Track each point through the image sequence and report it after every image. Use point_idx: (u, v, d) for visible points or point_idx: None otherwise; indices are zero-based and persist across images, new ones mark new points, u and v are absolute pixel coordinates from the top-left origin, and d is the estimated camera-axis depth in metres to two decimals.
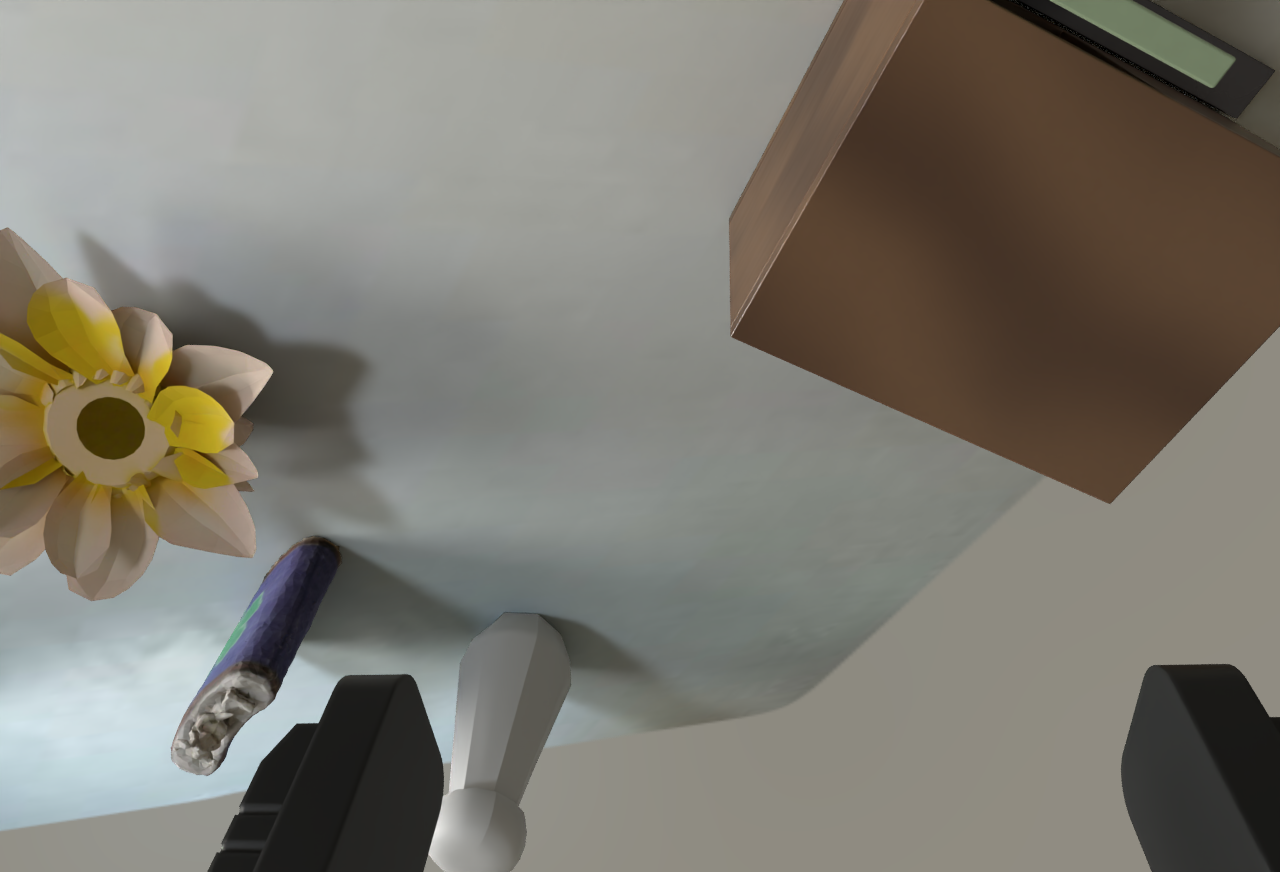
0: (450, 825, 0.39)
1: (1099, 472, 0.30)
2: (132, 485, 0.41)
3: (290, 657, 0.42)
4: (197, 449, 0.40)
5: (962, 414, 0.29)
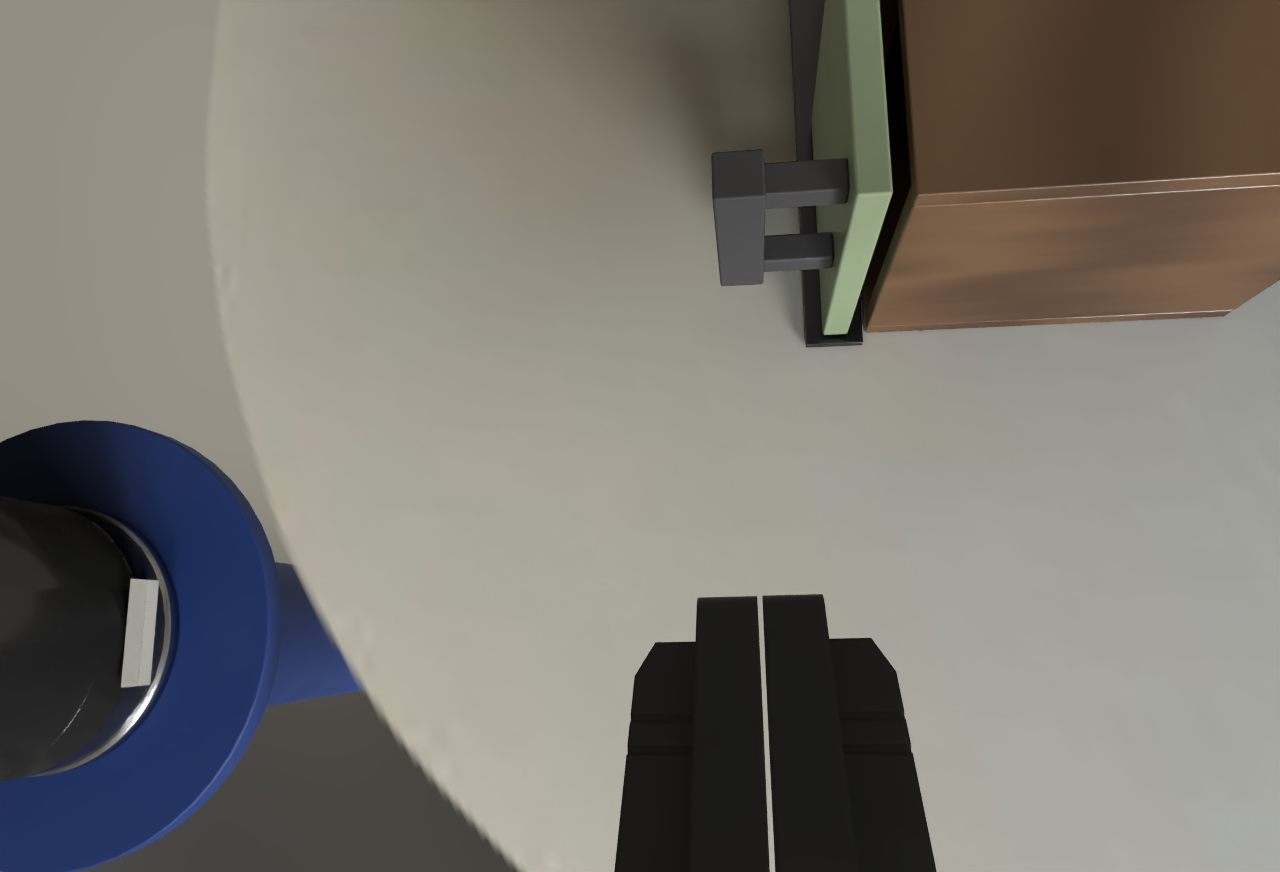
0: None
1: None
2: None
3: None
4: None
5: None
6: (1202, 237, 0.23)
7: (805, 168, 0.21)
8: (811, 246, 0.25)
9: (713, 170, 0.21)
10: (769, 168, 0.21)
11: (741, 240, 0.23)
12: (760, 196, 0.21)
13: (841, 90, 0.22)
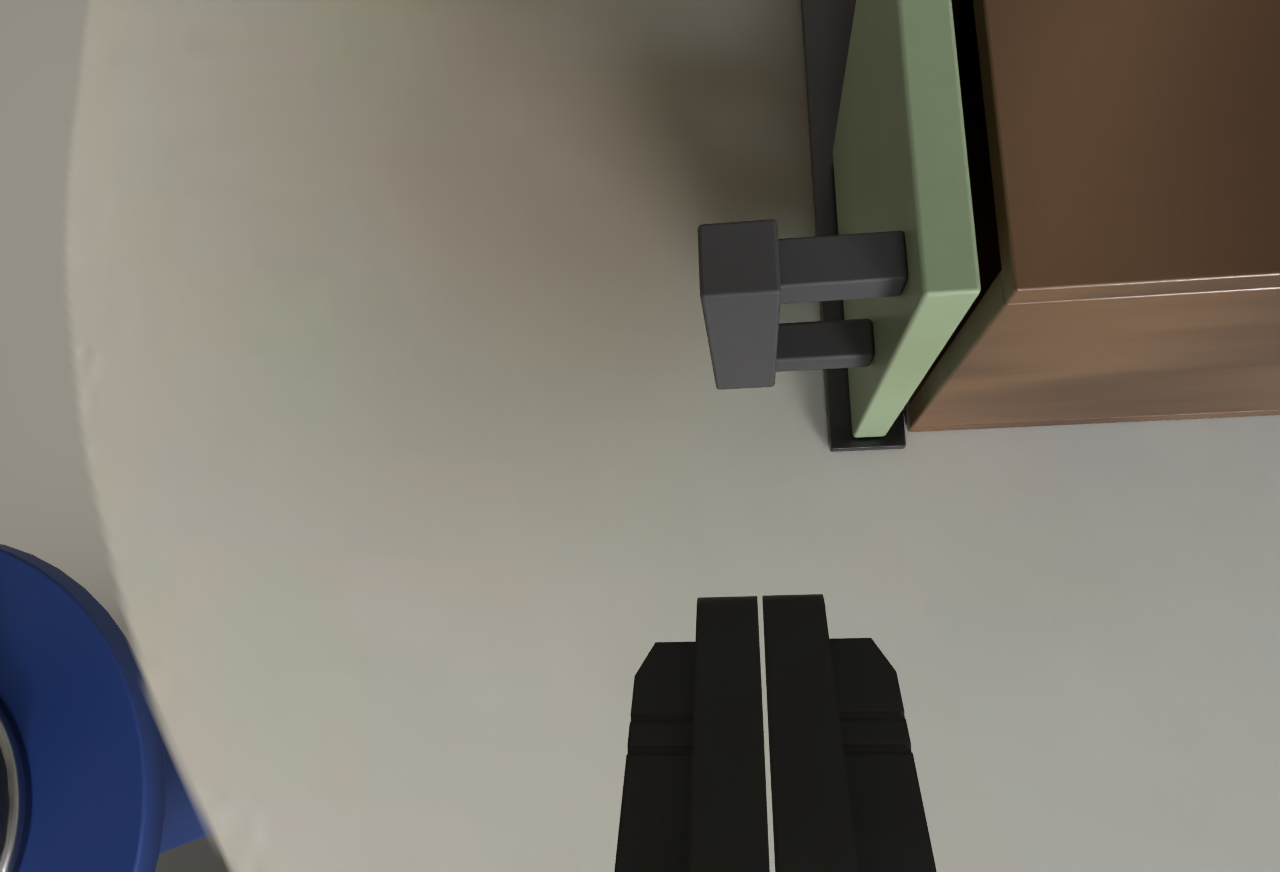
0: None
1: None
2: None
3: None
4: None
5: None
6: None
7: (840, 246, 0.14)
8: (843, 338, 0.18)
9: (701, 252, 0.14)
10: (784, 246, 0.14)
11: (744, 342, 0.16)
12: (773, 291, 0.14)
13: (890, 126, 0.15)
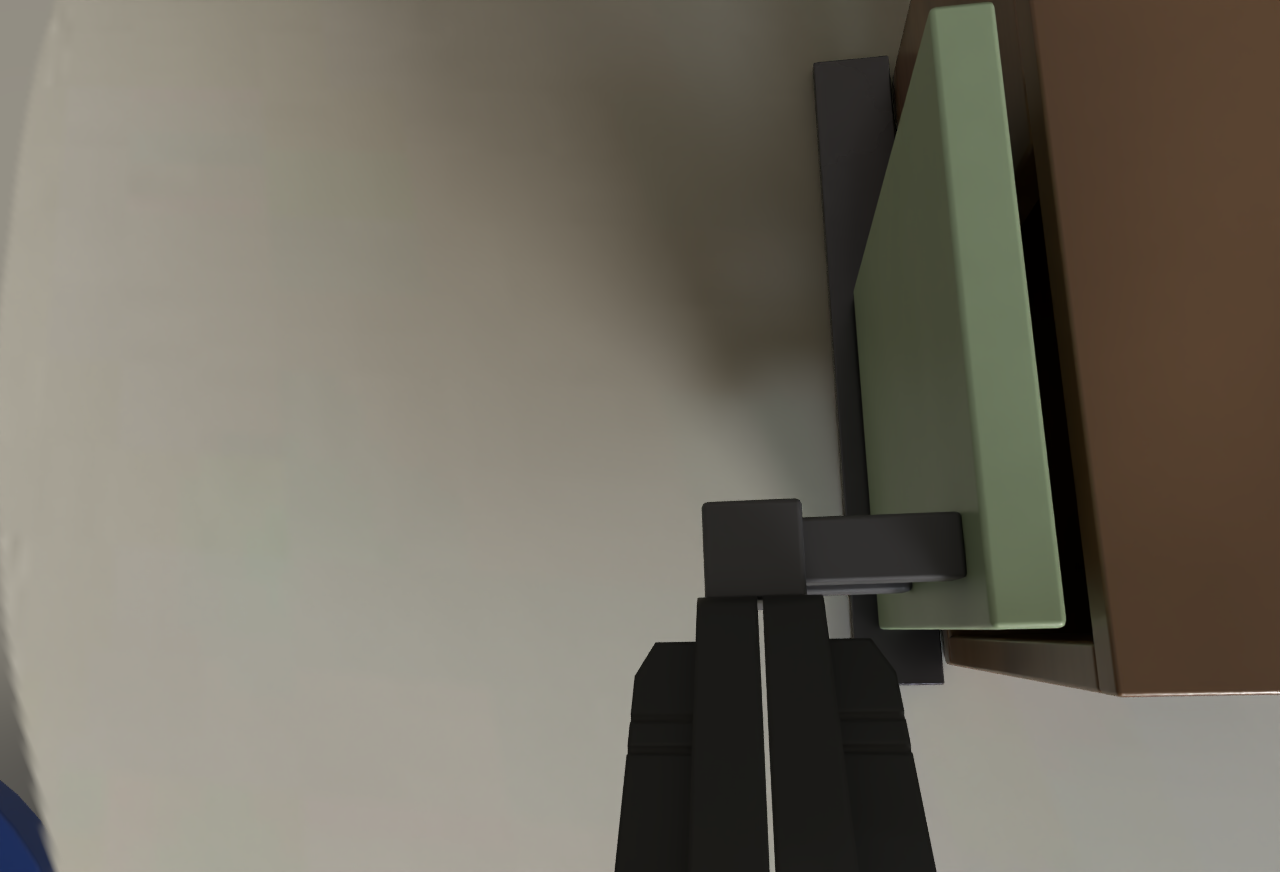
0: None
1: None
2: None
3: None
4: None
5: None
6: None
7: (880, 531, 0.11)
8: None
9: (706, 540, 0.11)
10: (811, 528, 0.11)
11: (758, 605, 0.13)
12: None
13: (939, 363, 0.12)
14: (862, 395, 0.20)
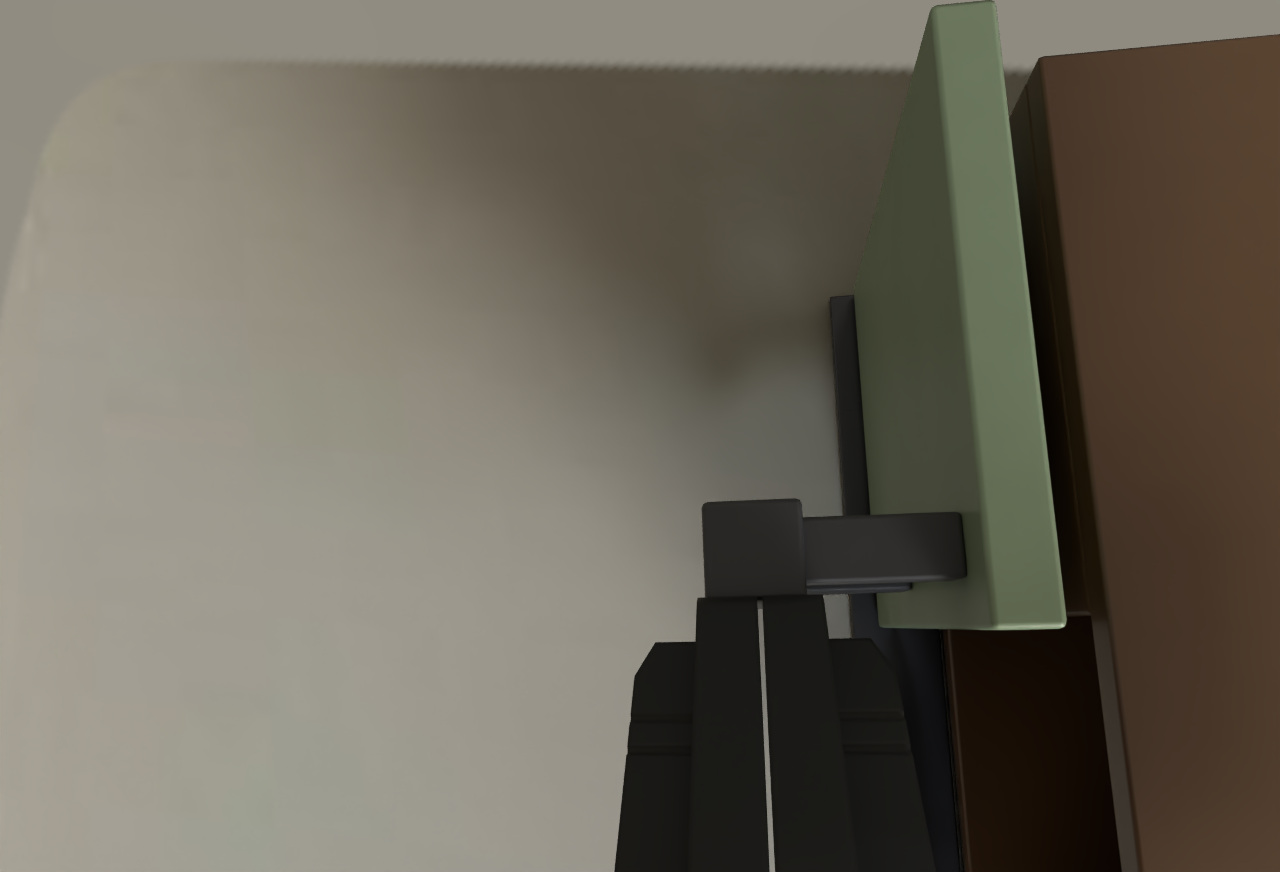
0: None
1: None
2: None
3: None
4: None
5: None
6: None
7: (881, 532, 0.11)
8: None
9: (706, 541, 0.11)
10: (810, 528, 0.11)
11: None
12: None
13: (940, 362, 0.12)
14: (862, 393, 0.20)
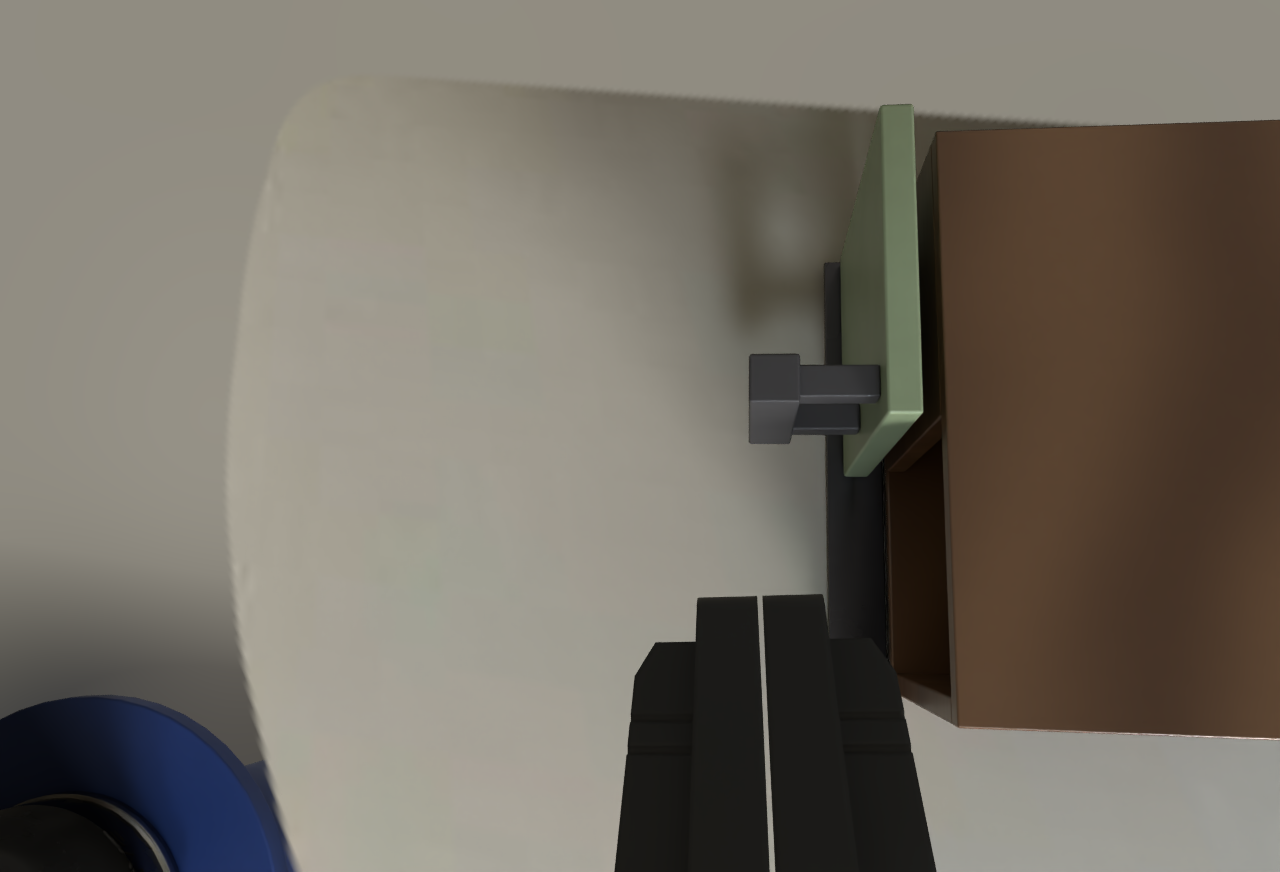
0: None
1: None
2: None
3: None
4: None
5: None
6: None
7: (839, 372, 0.22)
8: (839, 416, 0.26)
9: (750, 372, 0.22)
10: (804, 370, 0.22)
11: (772, 422, 0.24)
12: (795, 401, 0.22)
13: (876, 291, 0.23)
14: (841, 327, 0.31)
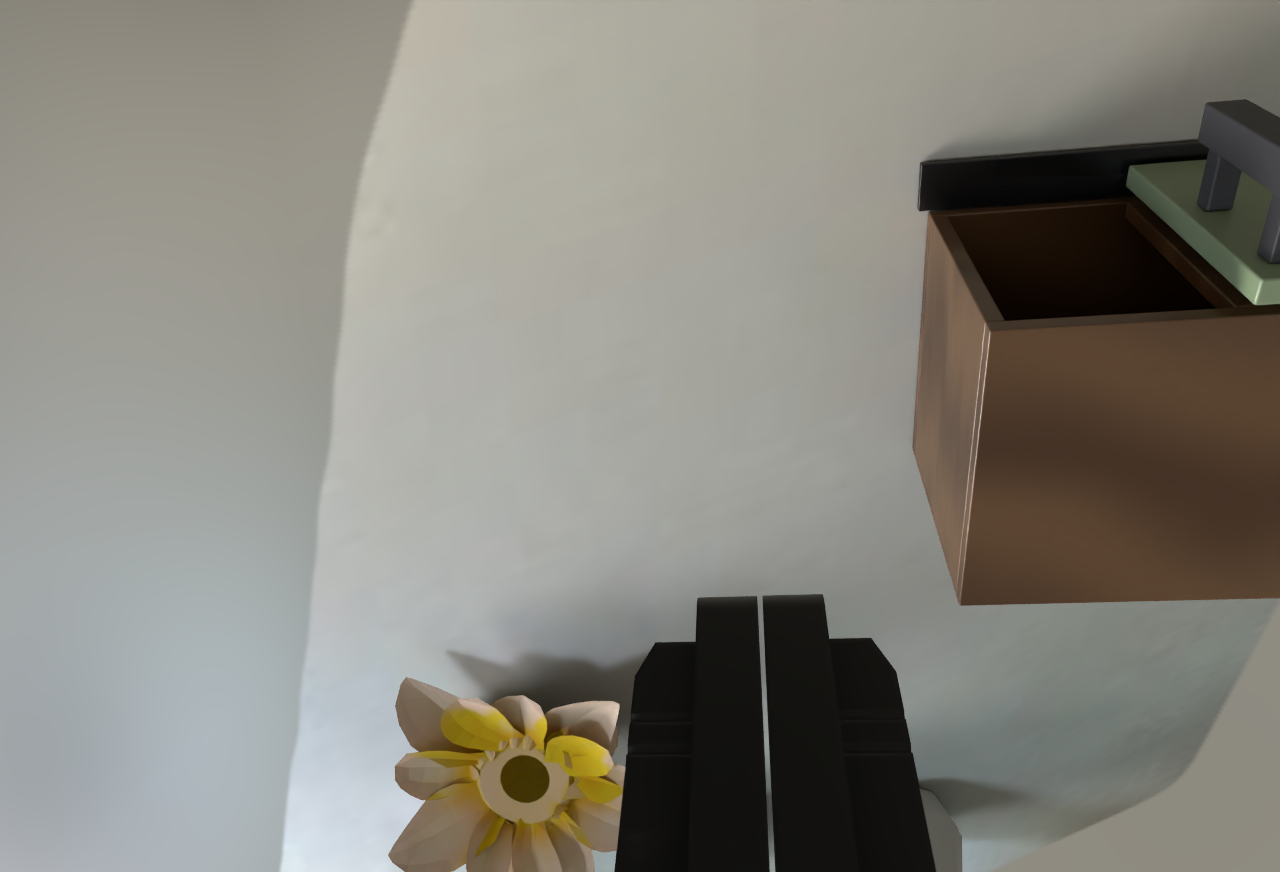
0: None
1: None
2: (556, 815, 0.52)
3: None
4: (590, 775, 0.50)
5: (1194, 583, 0.32)
6: (947, 469, 0.34)
7: None
8: (1223, 193, 0.29)
9: None
10: None
11: (1249, 154, 0.26)
12: None
13: None
14: None
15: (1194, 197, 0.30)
